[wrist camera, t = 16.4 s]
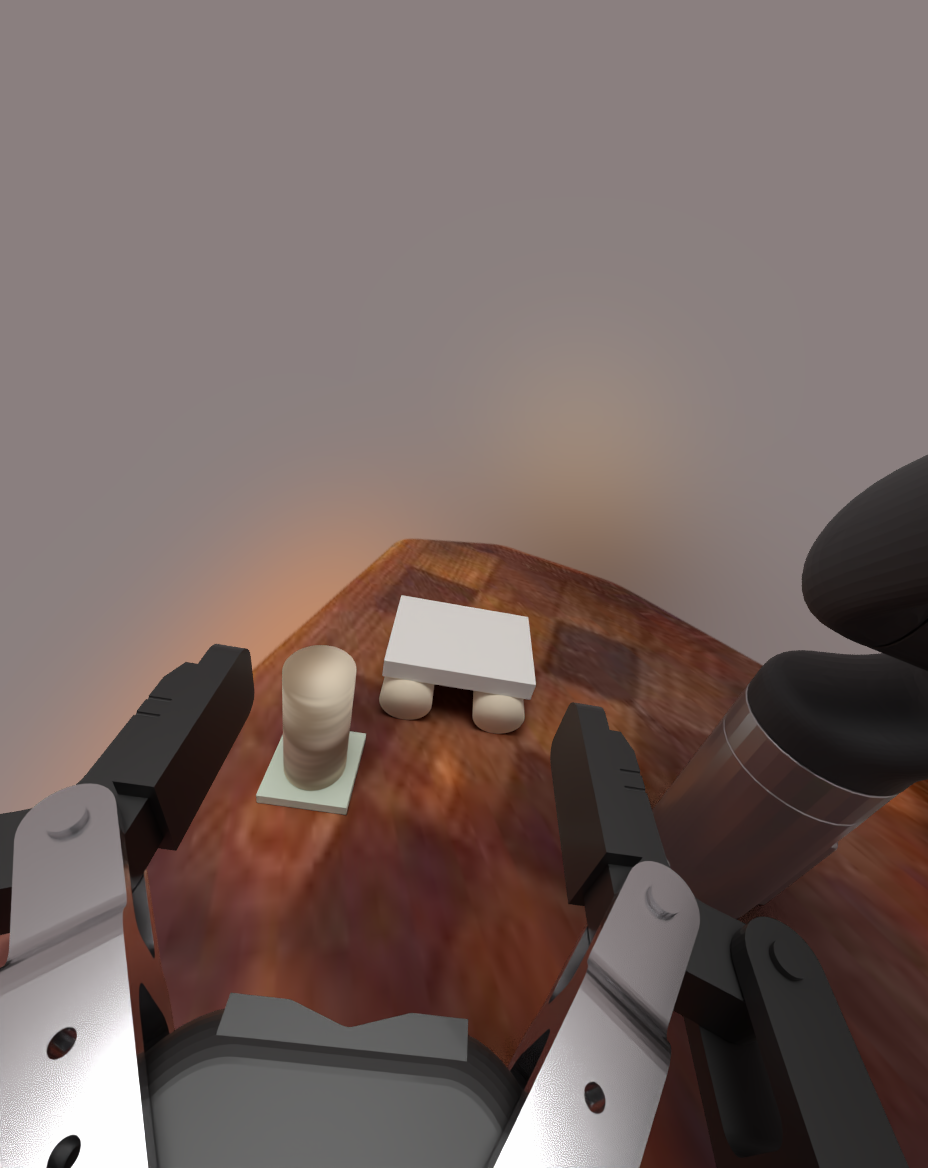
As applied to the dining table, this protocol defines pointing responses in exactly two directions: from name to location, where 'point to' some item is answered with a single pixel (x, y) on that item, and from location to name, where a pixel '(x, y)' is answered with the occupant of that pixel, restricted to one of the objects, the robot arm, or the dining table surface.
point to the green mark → (325, 800)
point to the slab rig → (458, 662)
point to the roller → (317, 715)
